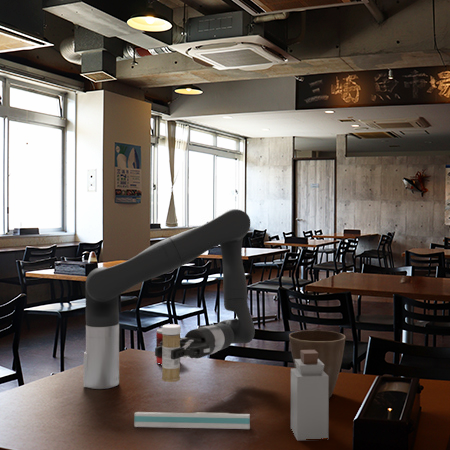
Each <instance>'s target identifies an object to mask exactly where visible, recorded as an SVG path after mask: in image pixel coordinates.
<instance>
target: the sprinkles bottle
mask: <svg viewBox="0 0 450 450" xmlns="http://www.w3.org/2000/svg"><path fill="white" fill-rule="evenodd" d="M161 328H162V334H163V346H162V365H161V366H162V367H161V368H162V369H161V372H162V375H161V380H162V381H163V382H165V383H176V382H178V381H180V379H181V375H180V374H181V373H180V368H181V358H178V359H175V360H173V359H171V351H172V350H174V349H177V348H180V338H181V332H182V331H181V329H182V328H181V325H179V324H175V323H171V324H170V323H169V324H164V325H162V327H161Z"/></svg>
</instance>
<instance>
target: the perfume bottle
mask: <svg viewBox="0 0 450 450" xmlns="http://www.w3.org/2000/svg"><path fill="white" fill-rule="evenodd" d="M300 354H301V359H294V360H295V364H296V368H295V367H294V368H290V430H291V429H292V430H291V431H293V432H292V433H294V434H293V435H294V437H295V439H296V440H297V441H307V440H306V439H321V438H322V439H323V438H328V439H329V398H328V382H329V376H328V375H327V374H326V373H325V372H324V371H323V369H324V364H323V363H322V362H321V361H320V360H319V359H318V352H316V351H315V350H300Z"/></svg>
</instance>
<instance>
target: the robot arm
mask: <svg viewBox="0 0 450 450" xmlns="http://www.w3.org/2000/svg"><path fill="white" fill-rule="evenodd" d="M250 228H251V219H250V216H249V214H248V213H247V212H245V211H244V210H241V209H238V208H237V209H229V210H227V211H225V212H224V213H222V214H220V215H218V216H217V217H214V219H212V220H210V221H207V222H206V223H204V224H202V225H199V226H197V227H194V228H191V229H188V230H185V231H182V232H179V233H177V234H175V235H172V236H169V237H168V238H165V239H162V240H160V241H158V242H156V243H154V244H152V245H150V246H149V247H147V248H146V249H144V250H143V251H141V252H139V253H138V254H137V255H135V256H133V257H132V258H129V259H128V260H126V261H123V262H121V263H118V264H115V265H113V266H109V267H103V266H102V267H101V266H100V267H96V268H94V269H93V270H91V271H90V272H89V274H88V275H87V276H86V278H85V351H84V353H83V388H89V389H95V390H103V389H105V390H106V389H110V388H114V387H116V386H118V385H119V384H120V311H119V296H120V295H121V294H123V293H124V292H126V291H127V290H130V289H131V288H133V287H135V286H137V285H139V284H141V283H143V282H147V281H149V280H151V279H154V278H157V277H160V276H161V275H164V274H167V273H170V272H172V271H174V270H176V269H178V268H181V267H183V266H185V265H187V264H188V263H190V262H192V261H194V260H195V259H197V258H198V257H200V256H202V255H203V254H205V253H206V252H207V251H209V250H211V249H212V248H215V247H218V246H219V247H220V252H221V260H222V280H223V281H222V283H223V284H222V285H223V306H224V309H225V310H226V311H229V312H234V314H236V315H235V316H236V317H237V318H236V319H233V318H231V319H223V320H221V321H220V322H218V323H216V324H212V325H206V326H202V327H198V328H194V329H190V330H189V331H187V332H186V333H185V336H184V337H180V348H177V349H174V350H172V351H171V359H173V360H175V359H178V358H180V359H181V358H189V359H201V358H203V357H204V358H205V357H206V356H210V355H213V354H215V353H218V351H222V350H224V349H226V348H228V347H230V346H231V345H232V344H235V345H236V344H249V343H251V342H252V341H253V339H254V338H255V334H256V333H255V332H256V331H255V330H256V329H255V324H254V321H253V318H252V315H251V312H250V308H249V304H248V286H247V278H246V273H245V268H244V265H243V263H244V262H243V253H242V250H243V240H244V237H245V236H246V235H247V234H248V233H249V231H250ZM162 346H163V341H161V342H160V346H159V347H155V348H154V356H155V357H156V356H158V357H159V356H162Z"/></svg>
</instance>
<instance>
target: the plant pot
mask: <svg viewBox="0 0 450 450" xmlns="http://www.w3.org/2000/svg"><path fill="white" fill-rule="evenodd" d="M288 338H289V345H290V351H291V352H290V353H291V357H292V360H293V365H294V368H296V364H295V360H294V359H301V354H300V350H315V351H316V352H318V359H319V360H320V361H321V362H322V363H323V364H324V369H323V371H324V372H325V373H326V374H327V375H328V376H329V382H328V399H330V398H331V397H332V395H333V393H334V390H335V388H336V385H337V383H338V382H337V381H338V378H339V374H340V371H341V367H342V362H343V356H344V351H345V346H346V345H345V343H346V335H345V334H343V333H340V332H336V331H330V330H317V329H309V330H299V331H294V332H291V333H289V334H288Z"/></svg>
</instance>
